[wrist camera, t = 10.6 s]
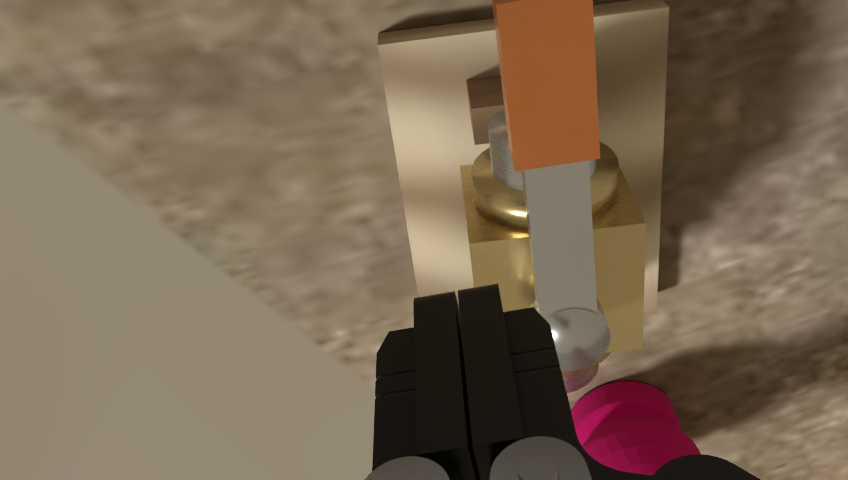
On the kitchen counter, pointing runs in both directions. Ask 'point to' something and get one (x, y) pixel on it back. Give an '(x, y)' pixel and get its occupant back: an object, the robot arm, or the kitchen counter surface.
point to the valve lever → (556, 160)
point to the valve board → (453, 140)
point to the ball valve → (510, 249)
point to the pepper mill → (630, 427)
